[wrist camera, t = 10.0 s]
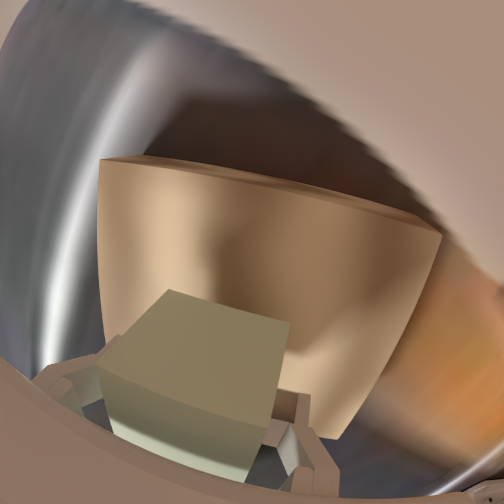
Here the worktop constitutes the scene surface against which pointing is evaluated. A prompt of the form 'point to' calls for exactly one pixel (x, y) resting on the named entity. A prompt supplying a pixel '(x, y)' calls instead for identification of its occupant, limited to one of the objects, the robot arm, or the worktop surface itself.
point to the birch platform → (267, 266)
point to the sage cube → (195, 383)
